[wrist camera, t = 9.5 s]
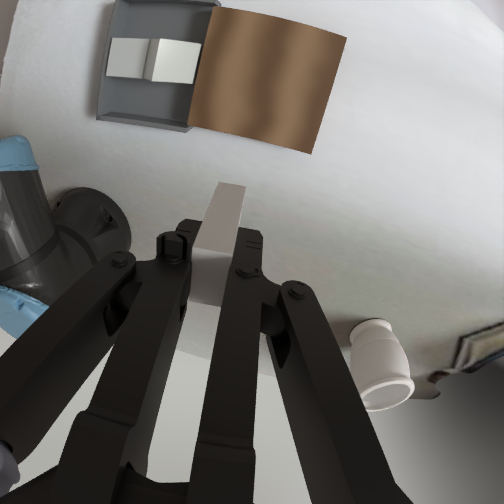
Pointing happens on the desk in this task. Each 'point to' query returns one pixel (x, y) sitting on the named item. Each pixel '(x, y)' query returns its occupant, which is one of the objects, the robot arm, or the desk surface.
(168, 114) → the tray
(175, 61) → the tile
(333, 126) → the desk surface
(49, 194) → the desk surface
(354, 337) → the jar
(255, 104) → the board
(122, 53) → the light grey block
